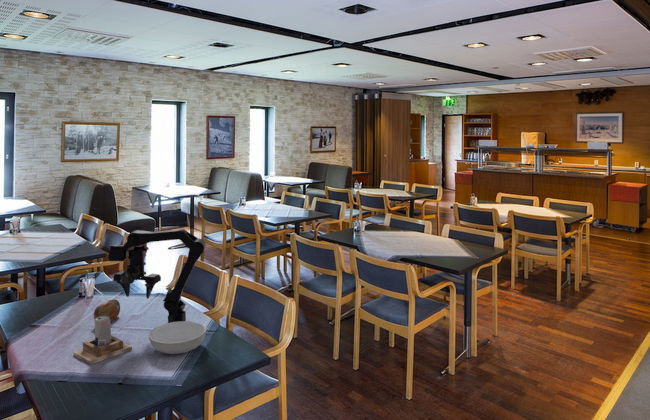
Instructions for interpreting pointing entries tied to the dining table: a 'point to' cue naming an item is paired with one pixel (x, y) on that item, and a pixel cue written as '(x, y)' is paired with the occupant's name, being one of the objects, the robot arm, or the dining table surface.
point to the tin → (108, 309)
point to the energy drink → (102, 331)
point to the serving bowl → (177, 337)
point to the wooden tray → (101, 350)
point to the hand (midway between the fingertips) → (137, 297)
